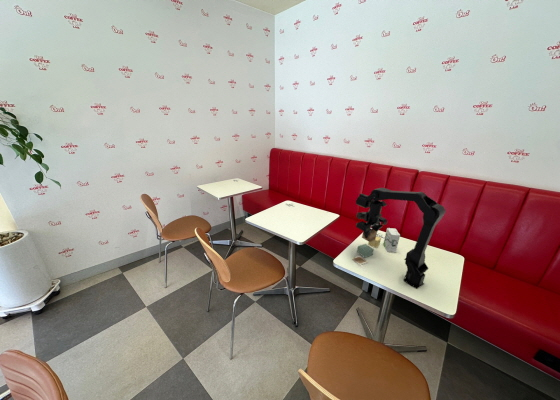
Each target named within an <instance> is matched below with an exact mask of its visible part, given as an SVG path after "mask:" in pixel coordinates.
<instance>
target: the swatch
mask: <svg viewBox="0 0 560 400" xmlns="http://www.w3.org/2000/svg"><path fill="white" fill-rule="evenodd" d="M351 260H352V261H354V263H356V264H357V265H359V266H362V265H365V264H367V263H368V260H366V259H364V258H363V257H362V256H360V255H358V256H355V257H353V258H351Z"/></svg>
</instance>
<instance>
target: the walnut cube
mask: <svg viewBox="0 0 560 400" xmlns="http://www.w3.org/2000/svg"><path fill="white" fill-rule="evenodd" d="M370 229H372V227H371V228H370ZM377 234H378V231H375V230H373V229H372V231H371V233H370V234H369V236H368V237H367V239H366V238H365V236H364V231H362V234H361V238H362V239H364V240H365V241H367V242H368V243H369V242H371V241H373V240H375V239H376V236H377Z"/></svg>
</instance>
